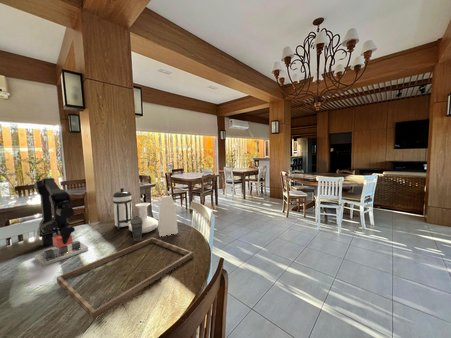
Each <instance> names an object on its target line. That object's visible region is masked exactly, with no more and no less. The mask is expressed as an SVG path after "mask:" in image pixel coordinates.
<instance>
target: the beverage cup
mask: <svg viewBox="0 0 451 338" xmlns="http://www.w3.org/2000/svg"><path fill="white" fill-rule="evenodd" d="M133 211H134V217H133V216H132V220H131V226H132V231H131V232H132V238H133V239H132V240H133V241H134V242H139V241H141V240H142V235H143V233H142V223H143V221H142V218H141V217H140V216H139V215H136V214H137V213H136V209H134V210H133Z"/></svg>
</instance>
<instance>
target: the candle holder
mask: <svg viewBox="0 0 451 338" xmlns="http://www.w3.org/2000/svg"><path fill="white" fill-rule="evenodd" d="M150 205H151V202H140V203H136V204H135V207H137V208H138V212H139V214H138V216H140V217H141V218H142V221H143V223H142V234H145V233H149V232H151V231H154V230H155V229H157V227H158V226H159V219H158V220H157V219H156V218H155V217H151V216H148V207H149V206H150ZM128 230H129V231H131V232H132V226H131V223H130V224H129V225H128Z"/></svg>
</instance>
